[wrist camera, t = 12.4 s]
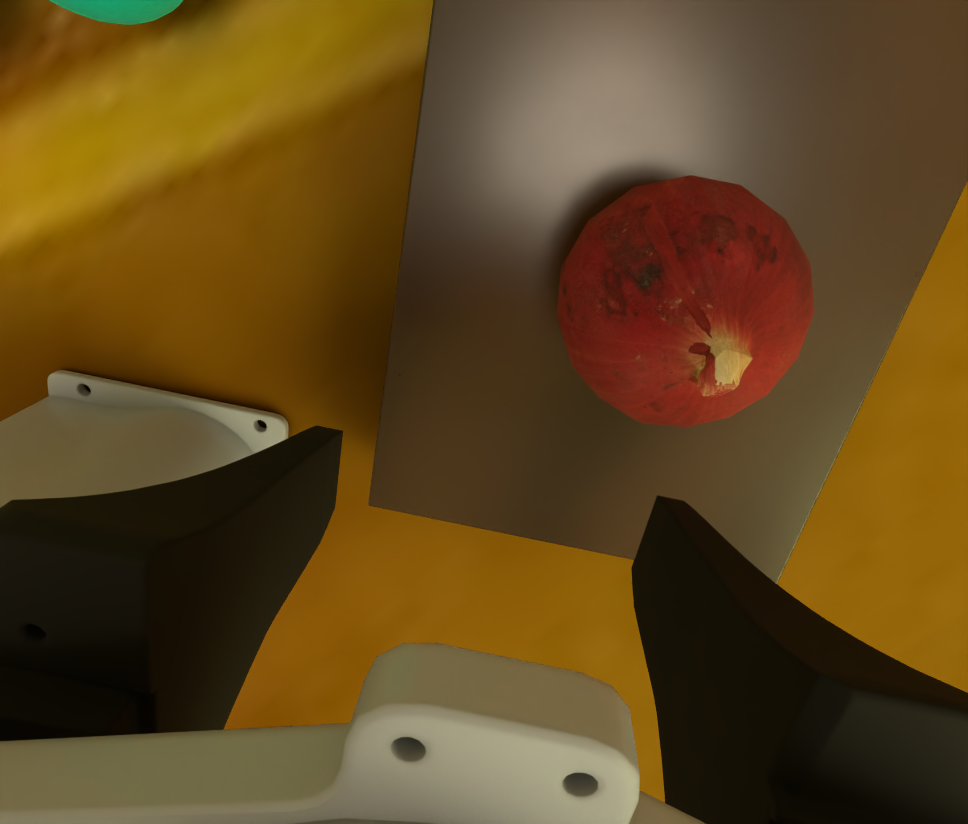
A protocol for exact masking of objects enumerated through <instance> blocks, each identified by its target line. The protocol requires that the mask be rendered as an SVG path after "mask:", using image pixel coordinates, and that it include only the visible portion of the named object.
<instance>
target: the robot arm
mask: <svg viewBox="0 0 968 824" xmlns="http://www.w3.org/2000/svg"><path fill="white" fill-rule="evenodd" d="M47 384H48V394H49V396H48V397H46V398H44V399H42V400H40V401H38V402H37V403H35V404H33V405H31V406H29V407H27V408H25V409H23V410H21V411H19V412H17V413H16V414H14V415H12V416H10V417H8V418H6V419H4V420H2V421H0V824H968V693H967V692H964V691H962V690H960V689H958V688H955V687H953V686H951V685H949V684H946V683H944V682H942V681H940V680H937V679H935V678H933V677H931V676H928V675H926V674H924V673H922V672H919V671H917V670H915V669H913V668H911V667H909V666H907V665H905V664H903V663H901V662H899V661H897V660H895V659H894V658H892V657H890V656H888V655H886V654H884V653H882V652H880V651H878V650H876V649H874V648H873V647H871V646H869V645H867V644H866V643H864V642H862V641H860V640H858V639H857V638H855V637H853V636H852V635H850V634H848V633H847V632H845V631H844V630H842V629H840V628H839V627H837V626H835V625H834V624H832V623H831V622H829V621H827V620H826V619H824V618H823V617H821V616H820V615H818V614H817V613H815V612H814V611H812V610H811V609H809V608H808V607H807V606H805V605H804V604H803V603H801V602H800V601H798V600H797V599H796V598H794V597H793V596H792V595H790V594H789V593H787V592H786V591H785V590H783V589H782V588H781V587H780V586H778V585H777V584H776V583H775V582H773V581H772V580H771V579H770V578H769V577H767V576H766V575H765V574H764V573H763V572H761V571H760V570H759V569H758V568H757V567H756V566H754V565H753V564H752V563H751V562H750V561H749V560H748V559H747V558H745V557H744V556H743V555H742V554H741V553H740V552H739V551H738V550H737V549H736V548H734V547H733V546H732V545H731V544H730V543H729V542H728V541H727V540H726V539H725V538H724V537H723V536H722V535H721V534H720V533H719V532H718V531H717V530H716V529H715V528H714V527H713V526H712V525H710V524H709V523H708V522H707V521H706V520H705V519H704V518H703V517H702V516H701V515H700V514H699V513H698V512H697V511H696V510H695V509H693V508H692V507H691V506H690V505H689V504H687V503H686V502H685V501H683V500H678V499H673V498H668V497H663V496H658V495H657V497H656V500H655V502H654V505H653V508H652V511H651V514H650V517H649V520H648V523H647V525H646V528H645V531H644V534H643V537H642V540H641V543H640V545H639V548H638V551H637V554H636V557H635V560H634V563H633V565H632V585H633V598H634V608H635V613H636V618H637V623H638V627H639V632H640V636H641V641H642V645H643V650H644V654H645V659H646V663H647V667H648V672H649V676H650V681H651V685H652V690H653V694H654V700H655V705H656V711H657V719H658V728H659V737H660V747H661V756H662V768H663V780H664V791H665V803H664V802H662V801H660V800H658V799H656V798H654V797H652V796H650V795H648V794H646V793H644V792H642V791H640V790H639V780H640V774H639V767H638V761H637V755H636V748H635V742H634V735H633V729H632V722H631V716H630V710H629V707H628V706H627V704H626V703H625V702H624V701H623V699H622V698H621V697H620V695H619V694H618V693H617V692H616V690H615V689H614V688H613V686H611V685H609V684H607V683H604V682H602V681H600V680H597V679H595V678H593V677H590V676H588V675H586V674H583V673H581V672H576V671H571V670H566V669H561V668H556V667H551V666H546V665H542V664H537V663H532V662H527V661H522V660H517V659H512V658H507V657H503V656H498V655H493V654H488V653H483V652H478V651H473V650H468V649H463V648H459V647H454V646H449V645H444V644H439V643H403V644H401V645H399V646H397V647H395V648H393V649H391V650H389V651H387V652H385V653H383V654H381V655H379V656H377V657H376V659H375V661H374V663H373V665H372V667H371V668H370V670H369V672H368V674H367V676H366V677H365V680H364V683H363V686H362V689H361V692H360V695H359V698H358V701H357V705H356V708H355V711H354V714H353V717H352V720H351V722H350V723H342V724H323V725H304V726H285V727H266V728H247V729H227V730H223V729H224V727H225V724H226V722H227V719H228V717H229V715H230V712H231V710H232V708H233V706H234V703H235V701H236V699H237V696H238V694H239V692H240V690H241V687H242V685H243V683H244V681H245V678H246V676H247V674H248V672H249V669H250V667H251V665H252V663H253V661H254V659H255V656H256V654H257V652H258V650H259V648H260V646H261V644H262V641H263V639H264V637H265V635H266V633H267V631H268V629H269V627H270V626H271V624H272V622H273V620H274V618H275V616H276V615H277V613H278V611H279V610H280V608H281V606H282V605H283V603H284V602H285V600H286V598H287V597H288V595H289V593H290V592H291V590H292V588H293V587H294V585H295V584H296V582H297V580H298V579H299V577H300V575H301V574H302V572H303V570H304V569H305V567H306V565H307V564H308V562H309V560H310V559H311V557H312V555H313V554H314V552H315V550H316V549H317V547H318V545H319V544H320V542H321V539H322V537H323V535H324V533H325V530H326V528H327V526H328V523H329V521H330V518H331V516H332V513H333V511H334V509H335V503H336V493H337V483H338V474H339V464H340V455H341V445H342V435H343V431H341V430H336V429H331V428H326V427H321V426H314V427H311V428H309V429H307V430H304V431H302V432H300V433H298V434H296V435H294V436H292V437H290V438H288V428H289V427H288V422H287V421H286V419H285V418H284V417H283V416H282V415H279V414H277V413H272V412H267V411H262V410H257V409H252V408H247V407H242V406H237V405H233V404H228V403H223V402H218V401H213V400H208V399H203V398H198V397H193V396H189V395H184V394H179V393H174V392H169V391H164V390H159V389H154V388H149V387H145V386H140V385H135V384H130V383H125V382H120V381H115V380H110V379H105V378H101V377H96V376H91V375H86V374H81V373H76V372H71V371H66V370H58V371H56V372H54V373H52V374H50V375H49V376H48V380H47ZM84 384H85V385H87V386H88V387H89V388H90V390H91V392H89V391H87V390H86V389H85V386H84ZM258 420H262V421H264V422H265V423H266V426H267V428H263V427H261V426H260V425H259V424H258Z"/></svg>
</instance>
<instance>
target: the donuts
mask: <svg viewBox="0 0 968 824" xmlns="http://www.w3.org/2000/svg"><path fill="white" fill-rule="evenodd" d="M50 1H51V2H53V3H55V4H57V5H59V6H61V7H62V8H65V9H67V10H69V11H72V12H74V13H77V14H79V15H82V16H85V17H88V18H91V19H94V20H97V21H101V22H106V23H114V24H125V25H132V24H140V23H146V22H151V21H154V20H156V19H159V18H161V17H163V16H165V15H166V14H168V13H170V12H172V11H173V10H175V9H176V8H177V7H178V6H179V5H180V4H181V3H182V1H183V0H50Z"/></svg>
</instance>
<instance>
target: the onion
mask: <svg viewBox="0 0 968 824" xmlns="http://www.w3.org/2000/svg"><path fill="white" fill-rule="evenodd" d="M813 315H814V300H813V287H812V273H811V266H810V262H809V259H808V257H807V255H806V253H805V252H804V250H803V248H802V247H801V245H800V243H799V241H798V240H797V238H796V236H795V234H794V233H793V231H792V229H791V227H790V226H789V224H788V222H787V220H786V219H785V218H783V217H782V216H781V215H779V214H778V213H777V212H776V211H774V210H773V209H772V208H770V207H769V206H768V205H766V204H765V203H764V202H763V201H761V200H760V199H759V198H757V197H756V196H755V195H753V194H752V193H751V192H750V191H748V190H747V189H746V188H744V187H743V186H742V185H739V184H734V183H729V182H724V181H719V180H714V179H709V178H704V177H698V176H693V175H688V176H683V177H678V178H673V179H669V180H664V181H659V182H654V183H649V184H645V185H640V186H635V187H633V188H632V189H631V190H629V191H628V192H626V193H625V194H624V195H622V196H621V197H620V198H618V199H617V200H616V201H614V202H613V203H611V204H610V205H609V206H607V207H606V208H605V209H603V210H602V211H601V212H599V213H598V214H596V215H595V216H594V217H592V218H591V219H590V220H589V221H588V222H587V224H586V225H585V227H584V229H583V231H582V232H581V234H580V236H579V237H578V239H577V241H576V243H575V244H574V246H573V248H572V249H571V251H570V253H569V255H568V256H567V258H566V260H565V261H564V263H563V265H562V267H561V273H560V284H559V295H558V306H557V317H558V322H559V326H560V329H561V332H562V336H563V339H564V342H565V346H566V349H567V352H568V356H569V359H570V363H571V365H572V366H573V368H574V369H575V370H576V371H577V372H578V373H579V375H580V376H581V377H582V378H583V379H584V381H585V382H586V383H587V384H588V385H589V386H590V388H591V389H592V390H593V391H594V392H595V394H596V395H597V396H598V397H599V398H601V399H602V400H604V401H605V402H607V403H609V404H610V405H612V406H613V407H615V408H617V409H618V410H620V411H621V412H623V413H625V414H626V415H628V416H629V417H631V418H633V419H634V420H636V421H638V422H641V423H643V424H654V425H666V426H678V427H690V426H695V425H699V424H703V423H707V422H712V421H716V420H720V419H724V418H729V417H731V416H732V415H734V414H736V413H737V412H739V411H741V410H742V409H744V408H746V407H747V406H749V405H751V404H752V403H754V402H756V401H757V400H759V399H761V398H762V397H764V396H766V395H767V394H768V393H769V392H770V391H771V390H772V388H773V387H774V386H775V385H776V384H777V382H778V381H779V380H780V379H781V378H782V376H783V375H784V374H785V373H786V372H787V370H788V369H789V368H790V367H791V366H792V364H793V363H794V362H795V361H796V359H797V358H798V356H799V354H800V351H801V348H802V345H803V342H804V340H805V337H806V334H807V331H808V329H809V326H810V323H811V320H812V317H813Z"/></svg>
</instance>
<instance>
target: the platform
mask: <svg viewBox="0 0 968 824" xmlns="http://www.w3.org/2000/svg"><path fill="white" fill-rule="evenodd" d="M688 175H693V176H698V177H704V178H709V179H714V180H719V181H724V182H729V183H734V184H739V185H742V186H743V187H744V188H746V189H747V190H748V191H750V192H751V193H752V194H753V195H755V196H756V197H757V198H759V199H760V200H761V201H763V202H764V203H765V204H766V205H768V206H769V207H770V208H772V209H773V210H774V211H776V212H777V213H778V214H779V215H781V216H782V217H783V218H785V219H786V220H787V222H788V224H789V226H790V227H791V229H792V231H793V233H794V234H795V236H796V238H797V240H798V241H799V243H800V245H801V247H802V248H803V250H804V252H805V253H806V255H807V257H808V259H809V262H810V266H811V273H812V287H813V300H814V315H813V317H812V320H811V323H810V326H809V329H808V331H807V334H806V337H805V340H804V342H803V345H802V348H801V351H800V354H799V356H798V358H797V359H796V361H795V362H794V363H793V364H792V366H791V367H790V368H789V369H788V370H787V372H786V373H785V374H784V375H783V376H782V378H781V379H780V380H779V381H778V382H777V384H776V385H775V386H774V387H773V388H772V390H771V391H770V392H769V393H768V394H767V395H766V396H764V397H762V398H761V399H759V400H757V401H756V402H754V403H752V404H751V405H749V406H747V407H746V408H744V409H742V410H741V411H739V412H737V413H736V414H734V415H732V416H731V417H729V418H724V419H720V420H716V421H712V422H707V423H703V424H699V425H695V426H690V427H678V426H666V425H654V424H643V423H641V422H638V421H636V420H634V419H633V418H631V417H629V416H628V415H626V414H625V413H623V412H621V411H620V410H618V409H617V408H615V407H613V406H612V405H610V404H609V403H607V402H605V401H604V400H602V399H601V398H599V397H598V396H597V395H596V394H595V392H594V391H593V390H592V389H591V388H590V386H589V385H588V384H587V383H586V382H585V381H584V379H583V378H582V377H581V376H580V375H579V373H578V372H577V371H576V370H575V369H574V368H573V366H572V365H571V363H570V359H569V356H568V352H567V349H566V346H565V342H564V339H563V336H562V332H561V329H560V326H559V322H558V317H557V306H558V295H559V284H560V273H561V267H562V265H563V263H564V261H565V260H566V258H567V256H568V255H569V253H570V251H571V249H572V248H573V246H574V244H575V243H576V241H577V239H578V237H579V236H580V234H581V232H582V231H583V229H584V227H585V225H586V224H587V222H588V221H589V220H590V219H591V218H592V217H594V216H595V215H596V214H598V213H599V212H601V211H602V210H603V209H605V208H606V207H607V206H609V205H610V204H611V203H613V202H614V201H616V200H617V199H618V198H620V197H621V196H622V195H624V194H625V193H626V192H628V191H629V190H631V189H632V188H633V187H635V186H640V185H645V184H649V183H654V182H659V181H664V180H669V179H673V178H678V177H683V176H688ZM967 181H968V0H434V1H433V9H432V16H431V24H430V32H429V39H428V47H427V55H426V63H425V70H424V78H423V86H422V94H421V101H420V109H419V117H418V124H417V132H416V140H415V148H414V155H413V163H412V171H411V178H410V186H409V194H408V202H407V209H406V217H405V225H404V233H403V240H402V248H401V256H400V263H399V271H398V279H397V287H396V294H395V302H394V310H393V318H392V325H391V333H390V341H389V348H388V356H387V364H386V372H385V379H384V387H383V395H382V402H381V410H380V418H379V426H378V433H377V441H376V449H375V457H374V464H373V472H372V480H371V487H370V495H369V505H370V506H374V507H379V508H384V509H389V510H393V511H398V512H403V513H408V514H413V515H418V516H423V517H428V518H432V519H437V520H442V521H447V522H452V523H457V524H462V525H467V526H472V527H476V528H481V529H486V530H491V531H496V532H501V533H506V534H511V535H516V536H520V537H525V538H530V539H535V540H540V541H545V542H550V543H555V544H560V545H564V546H569V547H574V548H579V549H584V550H589V551H594V552H599V553H603V554H608V555H613V556H618V557H623V558H628V559H633V560H635V557H636V554H637V551H638V548H639V545H640V543H641V540H642V537H643V534H644V531H645V528H646V525H647V523H648V520H649V517H650V514H651V511H652V508H653V505H654V502H655V500H656V497H657V495H658V496H663V497H668V498H673V499H678V500H683V501H685V502H686V503H687V504H689V505H690V506H691V507H692V508H693V509H695V510H696V511H697V512H698V513H699V514H700V515H701V516H702V517H703V518H704V519H705V520H706V521H707V522H708V523H709V524H710V525H712V526H713V527H714V528H715V529H716V530H717V531H718V532H719V533H720V534H721V535H722V536H723V537H724V538H725V539H726V540H727V541H728V542H729V543H730V544H731V545H732V546H733V547H734V548H736V549H737V550H738V551H739V552H740V553H741V554H742V555H743V556H744V557H745V558H747V559H748V560H749V561H750V562H751V563H752V564H753V565H754V566H756V567H757V568H758V569H759V570H760V571H761V572H763V573H764V574H765V575H766V576H767V577H769V578H770V579H771V580H772V581H773V582H775V583H776V584H777V582H778V580H779V578H780V576H781V574H782V572H783V570H784V568H785V566H786V563H787V561H788V559H789V557H790V555H791V553H792V551H793V549H794V547H795V544H796V542H797V540H798V538H799V536H800V534H801V532H802V530H803V527H804V525H805V523H806V521H807V519H808V517H809V515H810V513H811V511H812V508H813V506H814V504H815V502H816V500H817V498H818V496H819V494H820V492H821V489H822V487H823V485H824V483H825V481H826V479H827V477H828V475H829V472H830V470H831V468H832V466H833V464H834V462H835V460H836V458H837V456H838V453H839V451H840V449H841V447H842V445H843V443H844V441H845V439H846V437H847V434H848V432H849V430H850V428H851V426H852V424H853V422H854V420H855V417H856V415H857V413H858V411H859V409H860V407H861V405H862V403H863V401H864V398H865V396H866V394H867V392H868V390H869V388H870V386H871V384H872V382H873V379H874V377H875V375H876V373H877V371H878V369H879V367H880V365H881V362H882V360H883V358H884V356H885V354H886V352H887V350H888V348H889V346H890V343H891V341H892V339H893V337H894V335H895V333H896V331H897V329H898V327H899V324H900V322H901V320H902V318H903V316H904V314H905V312H906V310H907V307H908V305H909V303H910V301H911V299H912V297H913V295H914V293H915V291H916V288H917V286H918V284H919V282H920V280H921V278H922V276H923V274H924V272H925V269H926V267H927V265H928V263H929V261H930V259H931V257H932V255H933V252H934V250H935V248H936V246H937V244H938V242H939V240H940V238H941V236H942V233H943V231H944V229H945V227H946V225H947V223H948V221H949V219H950V217H951V214H952V212H953V210H954V208H955V206H956V204H957V202H958V200H959V197H960V195H961V193H962V191H963V189H964V187H965V185H966V183H967Z"/></svg>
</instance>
